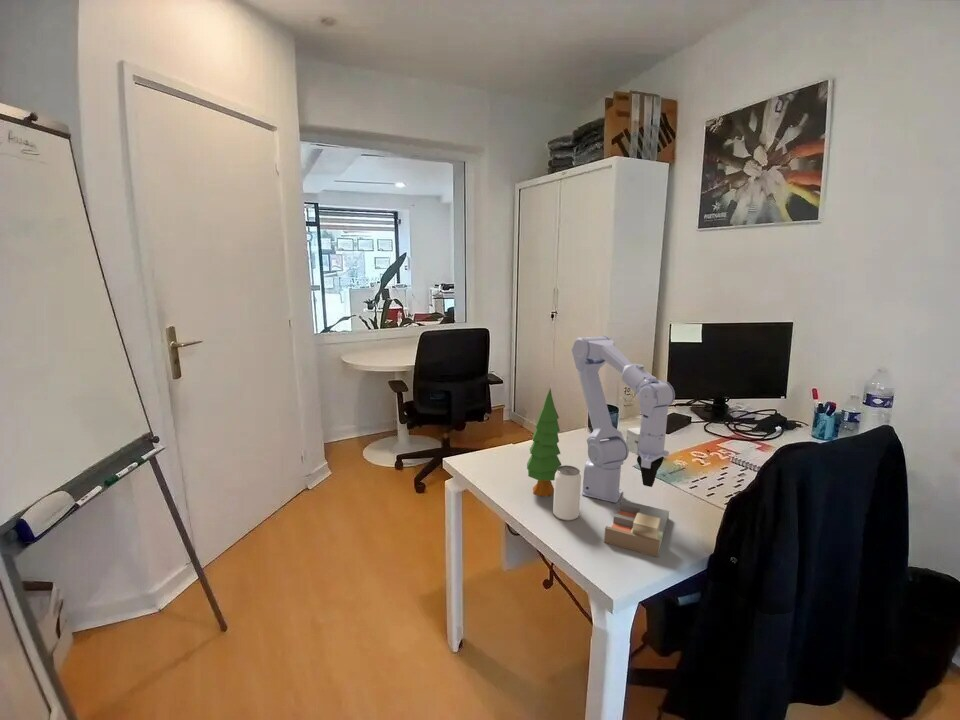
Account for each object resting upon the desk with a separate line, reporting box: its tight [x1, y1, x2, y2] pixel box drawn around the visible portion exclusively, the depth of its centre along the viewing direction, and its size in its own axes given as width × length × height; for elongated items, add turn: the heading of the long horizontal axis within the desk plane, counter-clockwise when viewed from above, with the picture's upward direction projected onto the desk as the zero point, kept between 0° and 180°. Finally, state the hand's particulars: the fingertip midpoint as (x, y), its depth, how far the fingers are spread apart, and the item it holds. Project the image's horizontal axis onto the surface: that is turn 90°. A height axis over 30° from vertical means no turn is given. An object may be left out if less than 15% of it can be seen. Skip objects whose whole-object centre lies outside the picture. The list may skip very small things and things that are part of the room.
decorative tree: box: [526, 387, 563, 497], centre depth 128 cm, size 10×9×30 cm
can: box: [552, 464, 582, 522], centre depth 118 cm, size 6×6×12 cm
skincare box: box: [625, 426, 641, 456], centre depth 161 cm, size 6×6×7 cm
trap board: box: [603, 499, 670, 558], centre depth 112 cm, size 12×18×4 cm, turn 152°
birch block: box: [632, 513, 660, 539], centre depth 105 cm, size 5×5×4 cm
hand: (648, 485), depth 115 cm, fingers closed
